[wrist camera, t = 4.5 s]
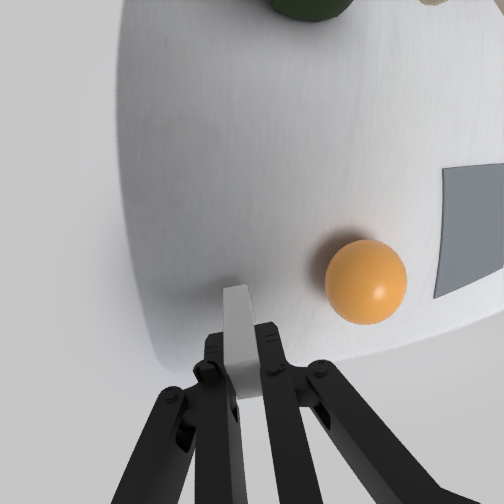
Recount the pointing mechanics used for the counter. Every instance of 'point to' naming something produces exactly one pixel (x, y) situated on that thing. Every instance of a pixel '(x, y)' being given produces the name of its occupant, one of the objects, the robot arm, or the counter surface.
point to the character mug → (320, 8)
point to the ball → (365, 282)
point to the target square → (471, 226)
